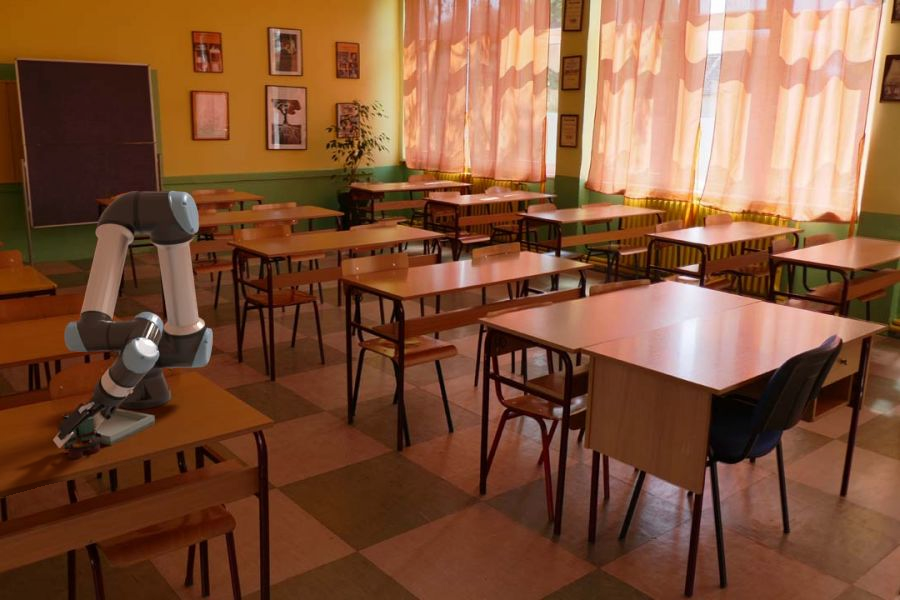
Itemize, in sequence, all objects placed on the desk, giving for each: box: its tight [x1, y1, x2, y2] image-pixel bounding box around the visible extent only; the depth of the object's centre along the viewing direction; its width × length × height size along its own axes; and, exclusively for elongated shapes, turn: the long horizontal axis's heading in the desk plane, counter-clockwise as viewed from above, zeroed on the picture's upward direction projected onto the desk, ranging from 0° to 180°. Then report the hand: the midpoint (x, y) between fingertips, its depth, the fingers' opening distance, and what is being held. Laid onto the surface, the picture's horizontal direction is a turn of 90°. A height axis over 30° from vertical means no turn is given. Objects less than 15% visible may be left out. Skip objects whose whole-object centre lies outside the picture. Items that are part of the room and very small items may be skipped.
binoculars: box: [61, 413, 102, 459], centre depth 200 cm, size 9×11×10 cm
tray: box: [90, 408, 156, 446], centre depth 215 cm, size 16×16×2 cm
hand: (73, 436), depth 201 cm, fingers closed on binoculars, 9 cm apart
